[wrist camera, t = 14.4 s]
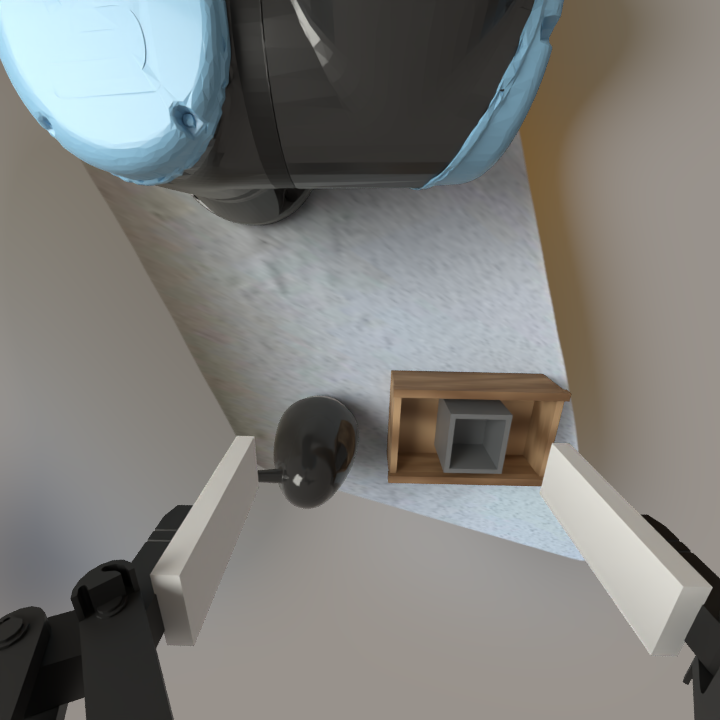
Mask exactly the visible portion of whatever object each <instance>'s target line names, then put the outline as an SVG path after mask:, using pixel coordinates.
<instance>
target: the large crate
mask: <svg viewBox="0 0 720 720" xmlns="http://www.w3.org/2000/svg"><path fill="white" fill-rule="evenodd" d="M570 397H571V393H570V392H569V391H567V390H563V389H562V388H561V387H559V386H558V385H557V384H555V383H554V382H553V381H552V380H550V379H549V378H548V377H546V376H545V375H544V374H525V373H481V372H438V371H394V370H391V386H390V404H389V422H388V439H387V460H388V469H389V471H388V483H420V484H464V485H508V486H542V482H543V478H544V474H545V469H546V465H547V461H548V457H549V453H550V449H551V445H552V443H554V441H555V437H556V433H557V429H558V425H559V421H560V416H561V412H562V408H563V404H564V401H570ZM439 399H483V400H500V401H501V402H502V403H503V404H504V405H505V407H506V408H507V409H508V410H509V411H510V413H511V414H512V415H513V417H512V422H511V427H510V432H509V438H508V443H507V448H506V453H505V459H504V464H503V469H502V474H482V473H444V472H443V469H442V466H441V463H440V460H439V457H438V455H437V452H436V449H435V446H434V441H435V431H436V422H437V413H438V403H439Z"/></svg>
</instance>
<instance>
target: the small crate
mask: <svg viewBox="0 0 720 720" xmlns="http://www.w3.org/2000/svg"><path fill="white" fill-rule="evenodd" d="M512 417H513V415H512V414H511V413H510V411H509V410H508V409H507V408H506V407H505V405H504V404H503V403H502V402H501V401H500V400H483V399H439V403H438V413H437V422H436V431H435V441H434V446H435V449H436V452H437V455H438V457H439V460H440V463H441V466H442V469H443V472H444V473H482V474H502V469H503V464H504V459H505V453H506V448H507V443H508V438H509V432H510V427H511V422H512Z"/></svg>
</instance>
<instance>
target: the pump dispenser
mask: <svg viewBox="0 0 720 720" xmlns="http://www.w3.org/2000/svg"><path fill="white" fill-rule="evenodd" d="M358 442H359V429H358V424H357V422H356V419H355V417H354V416H353V414H352V413H351V412H350V411H349V409H347V408H346V407H345V406H344V405H343V404H342V403H341V402H339V401H338V400H336V399H334V398H331V397H327V396H311V397H307V398H305V399H302V400H299V401H297V402H295V403H294V404H292V405H291V406H290V407H289V408H288V409H287V410H286V411H285V412H284V414H283V415H282V417H281V419H280V422H279V424H278V427H277V431H276V436H275V442H274V466H275V469H269V470H258V482H267V483H278V484H279V487H280V489H281V491H282V493H283V495H284V496H285V498H286V499H287V500H288V501H289V502H290V503H291V504H293V505H294V506H296V507H299V508H303V509H311V508H315V507H318V506H320V505H322V504H324V503H325V502H326V501H328V500H329V499H330V498H331V497H332V496H333V495H334V494H335V493H336V492H337V490H338V489H339V488H340V486H341V485H342V484H343V482H344V481H345V479H346V477H347V475H348V474H349V472H350V470H351V467H352V465H353V462H354V459H355V456H356V452H357V448H358Z"/></svg>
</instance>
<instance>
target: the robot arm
mask: <svg viewBox="0 0 720 720" xmlns="http://www.w3.org/2000/svg"><path fill="white" fill-rule="evenodd" d="M563 2H564V0H0V58H1V61H2V63H3V65H4V68H5V69H6V72H7V74H8V76H9V78H10V80H11V82H12V84H13V86H14V88H15V89H16V91H17V93H18V94H19V96H20V98H21V99H22V101H23V103H24V104H25V105H26V107H27V108H28V110H29V111H30V112H31V114H32V115H33V116H34V118H35V119H36V120H37V121H38V123H39V124H40V125H41V126H42V127H43V128H44V129H46V130H48V132H49V133H50V134H51V136H53V137H54V138H56V139H57V140H58V141H59V142H60V144H61V145H62V146H63V147H64V148H65V149H67V150H68V151H69V152H70V153H72V154H73V155H75V156H76V157H78V158H79V159H81V160H83V161H85V162H86V163H88V164H90V165H92V166H94V167H97V168H99V169H101V170H104V171H107V172H110V173H112V174H113V175H114V176H117V177H120V178H121V179H122V180H124V181H127V182H134V183H136V184H138V185H146V186H153V185H155V186H160V187H164V188H168V189H172V190H176V191H181V192H185V193H189V194H191V195H192V196H193V197H194V198H195V199H196V200H197V201H198V202H199V203H200V204H201V205H202V206H204V207H205V208H206V209H207V210H209V211H211V212H212V213H214V214H216V215H217V216H219V217H221V218H223V219H226V220H229V221H232V222H235V223H240V224H248V225H265V224H270V223H274V222H277V221H280V220H282V219H284V218H286V217H287V216H289V215H291V214H292V213H293V212H295V211H296V210H297V209H298V208H299V207H300V206H301V205H302V204H303V203H304V202H305V200H306V199H307V198H308V196H309V194H310V193H311V191H312V189H327V188H410V189H413V190H421V189H427V188H430V187H432V186H438V185H453V184H463V183H467V182H469V181H472V180H474V179H476V178H478V177H480V176H481V175H483V174H484V173H485V172H486V171H488V170H489V169H490V168H491V167H492V166H493V165H494V164H495V163H496V162H497V161H498V160H499V158H500V157H501V156H502V155H503V153H504V152H505V151H506V149H507V148H508V147H509V145H510V144H511V142H512V140H513V139H514V137H515V135H516V134H517V132H518V130H519V129H520V127H521V125H522V123H523V121H524V119H525V117H526V115H527V113H528V111H529V109H530V107H531V104H532V102H533V100H534V98H535V96H536V94H537V91H538V89H539V86H540V84H541V81H542V79H543V76H544V73H545V70H546V67H547V64H548V61H549V58H550V54H551V51H552V46H551V45H550V43H549V37H550V34H551V33H552V31H553V28H554V27H555V25H556V24H557V22H558V20H559V18H560V16H561V13H562V7H563ZM258 489H259V482H258V471H257V460H256V450H255V439H254V436H236V438H235V440H234V441H233V443H232V444H231V446H230V448H229V449H228V451H227V453H226V454H225V456H224V457H223V459H222V460H221V462H220V464H219V465H218V467H217V468H216V470H215V472H214V473H213V475H212V476H211V478H210V480H209V481H208V483H207V484H206V486H205V488H204V489H203V491H202V492H201V494H200V496H199V497H198V499H197V500H196V502H195V504H194V505H177V506H176V507H175V508H174V509H172V510H171V511H170V512H169V513H167V514H166V515H165V516H164V517H163V518H162V520H161V521H160V523H159V524H158V526H157V527H156V528H155V531H153V533H152V534H151V535H150V537H149V538H148V541H147V542H146V543H145V544H144V545H143V547H142V548H141V550H140V551H139V552H138V554H137V555H136V557H135V558H134V560H133V561H132V563H131V562H128V561H125V560H113V561H110V562H107V563H104V564H101V565H99V566H97V567H96V568H94V569H92V570H91V571H89V572H88V573H87V574H86V575H85V576H84V577H82V578H81V579H80V580H79V582H78V583H77V585H76V586H75V587H74V589H73V591H72V595H71V601H72V604H73V607H74V609H75V610H73V611H70V612H66V613H63V614H59V615H55V616H51V617H48V618H47V617H46V614H45V612H44V611H43V610H42V609H41V608H39V607H33V606H31V607H26V608H22V609H19V610H16V611H14V612H12V613H9V614H7V615H5V616H4V617H2V618H1V619H0V720H64V718H65V714H66V710H67V706H68V703H69V702H72V701H75V700H78V699H81V698H84V697H85V708H86V720H174V718H173V715H172V711H171V707H170V703H169V698H168V694H167V691H166V686H165V683H164V679H163V674H162V671H161V667H160V663H159V659H158V655H157V651H156V647H157V645H158V643H159V641H160V639H161V637H162V635H163V633H164V634H165V638H166V642H167V645H180V646H181V645H182V646H194V645H195V642H196V640H197V637H198V635H199V632H200V630H201V628H202V625H203V623H204V620H205V618H206V615H207V613H208V611H209V608H210V606H211V603H212V600H213V598H214V596H215V593H216V591H217V589H218V586H219V584H220V581H221V579H222V576H223V574H224V571H225V569H226V566H227V564H228V562H229V559H230V557H231V554H232V552H233V550H234V547H235V545H236V542H237V540H238V537H239V535H240V532H241V530H242V528H243V525H244V523H245V520H246V518H247V515H248V513H249V511H250V508H251V506H252V503H253V501H254V498H255V496H256V493H257V491H258ZM540 495H541V496H542V498H543V499H544V501H545V502H546V504H547V505H548V507H549V508H550V510H551V511H552V512H553V514H554V515H555V517H556V518H557V520H558V521H559V523H560V524H561V526H562V527H563V528H564V530H565V531H566V533H567V534H568V536H569V537H570V539H571V540H572V542H573V543H574V544H575V546H576V547H577V549H578V550H579V552H580V553H581V555H582V556H583V558H584V559H585V560H586V562H587V563H588V565H589V566H590V568H591V569H592V571H593V572H594V573H595V575H596V576H597V578H598V579H599V581H600V582H601V584H602V585H603V587H604V588H605V590H606V591H607V592H608V594H609V595H610V597H611V598H612V600H613V601H614V602H615V604H616V606H617V607H618V608H619V610H620V611H621V613H622V614H623V616H624V617H625V619H626V620H627V622H628V623H629V624H630V626H631V627H632V629H633V630H634V632H635V633H636V634H637V636H638V638H639V639H640V640H641V642H642V643H643V645H644V646H645V647H646V649H647V651H648V652H649V654H650V655H651V656H678V654H679V652H680V650H681V648H682V646H683V645H684V643H685V642H686V643H687V645H688V646H689V647H690V648H691V650H692V651H693V652H694V653H695V655H696V656H695V658H694V660H693V661H692V663H691V665H690V667H689V669H688V671H687V673H686V674H685V677H684V680H683V682H684V683H685V684H687V685H688V684H689V682H690V680H691V679H693V696H694V718H695V720H720V578H719V577H718V576H717V575H716V574H715V573H714V572H712V571H711V570H710V569H709V568H708V567H707V566H706V565H705V564H704V563H703V562H702V561H701V560H700V559H699V558H698V557H697V556H696V555H694V554H693V553H691V552H690V550H689V549H688V548H687V547H686V546H685V545H684V544H683V543H682V542H680V541H679V539H678V538H677V537H676V536H675V535H674V534H673V533H672V532H671V531H670V530H669V529H668V528H667V527H666V526H664V525H663V524H661V523H660V522H658V521H656V520H655V519H653V518H652V517H650V516H649V515H640V514H639V513H638V512H637V511H636V510H635V509H634V508H633V507H632V506H631V505H630V504H629V503H628V502H627V501H626V500H625V499H624V498H623V497H622V496H621V495H620V494H619V493H618V492H617V491H616V490H615V489H614V488H613V487H612V486H611V485H610V484H609V483H608V482H607V481H606V480H605V479H604V478H603V477H602V476H601V475H600V474H599V473H598V472H597V471H596V470H595V469H594V468H593V467H592V466H591V465H590V464H589V463H588V462H587V461H586V460H585V459H584V458H583V457H582V456H581V455H580V454H579V453H578V452H577V451H576V450H575V449H574V448H573V447H572V446H571V445H570V444H569V443H552V445H551V449H550V453H549V457H548V461H547V465H546V469H545V474H544V478H543V482H542V486H541V490H540Z"/></svg>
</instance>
